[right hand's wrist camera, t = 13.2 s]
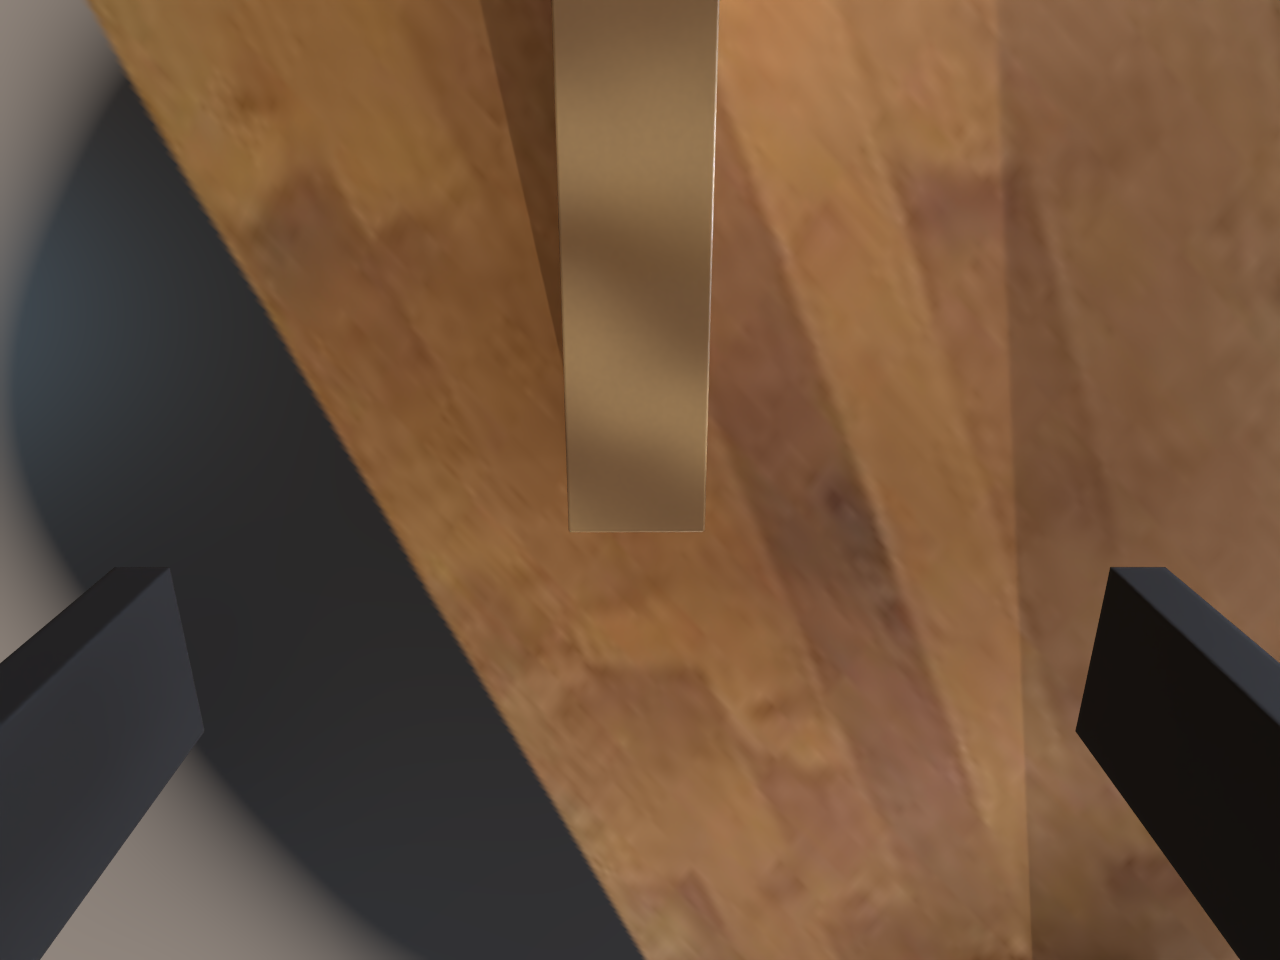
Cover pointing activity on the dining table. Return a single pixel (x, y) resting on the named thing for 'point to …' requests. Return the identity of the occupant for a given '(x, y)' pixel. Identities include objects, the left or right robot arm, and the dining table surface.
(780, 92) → the dining table surface
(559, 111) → the bar
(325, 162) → the dining table surface
